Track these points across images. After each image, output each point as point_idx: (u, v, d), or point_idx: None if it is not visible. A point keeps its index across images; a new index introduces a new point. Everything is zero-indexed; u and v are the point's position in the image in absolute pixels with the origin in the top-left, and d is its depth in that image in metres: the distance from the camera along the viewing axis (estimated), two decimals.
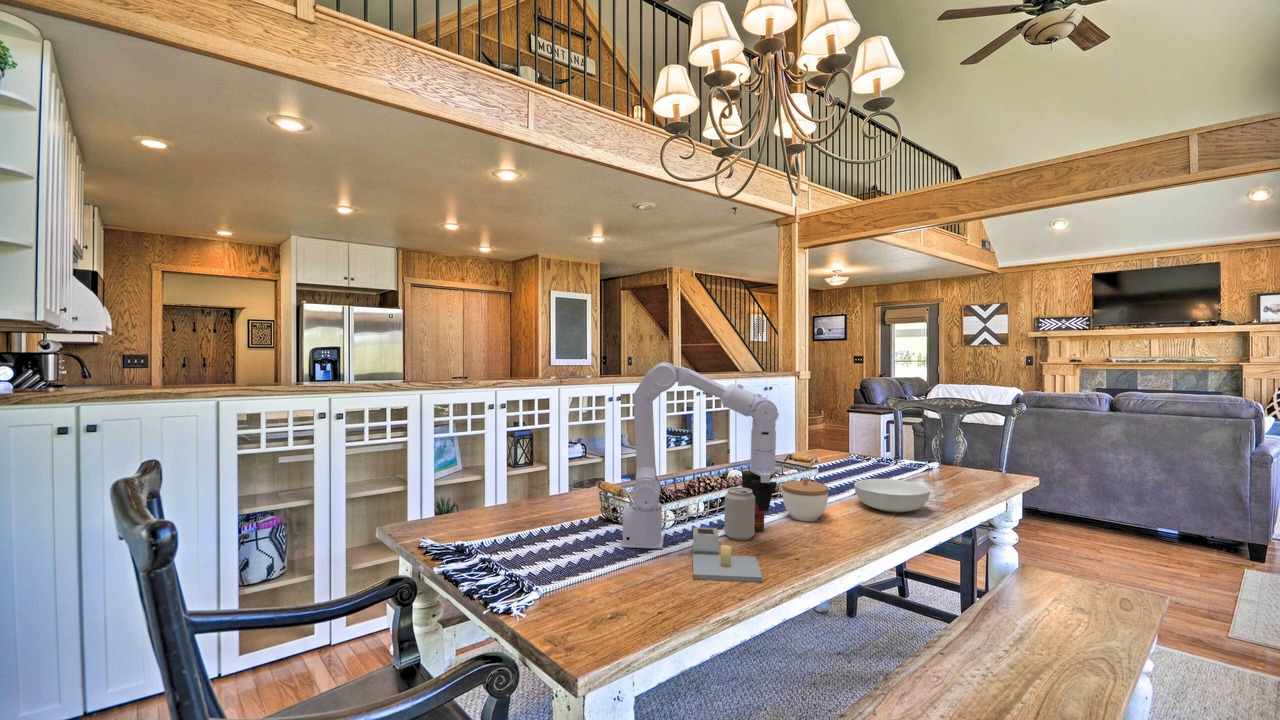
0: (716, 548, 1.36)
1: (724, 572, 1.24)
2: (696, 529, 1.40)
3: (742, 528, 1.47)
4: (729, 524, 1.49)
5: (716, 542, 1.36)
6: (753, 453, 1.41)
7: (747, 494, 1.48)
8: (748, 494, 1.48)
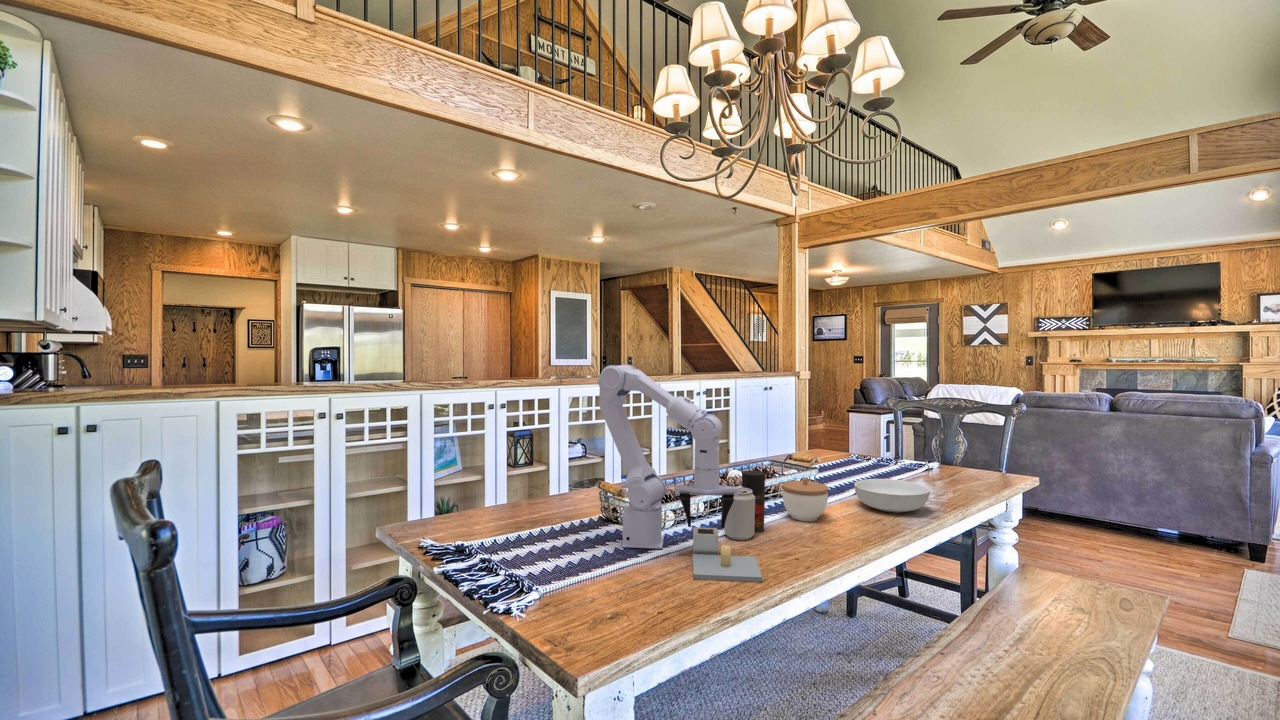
0: (716, 548, 1.36)
1: (724, 572, 1.24)
2: (696, 529, 1.40)
3: (742, 528, 1.47)
4: (729, 524, 1.49)
5: (716, 542, 1.36)
6: None
7: (747, 494, 1.48)
8: (748, 494, 1.48)
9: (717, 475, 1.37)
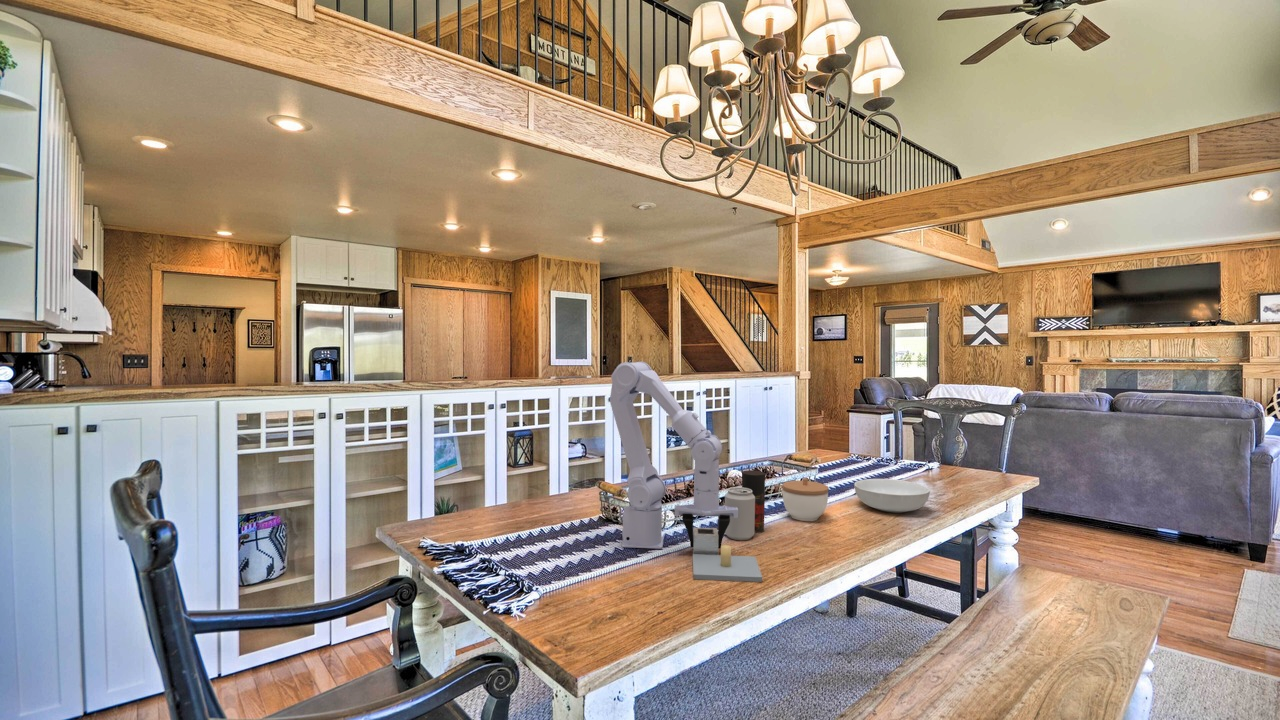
0: (716, 548, 1.36)
1: (724, 572, 1.24)
2: (696, 529, 1.40)
3: (742, 528, 1.47)
4: (729, 524, 1.49)
5: (716, 542, 1.36)
6: None
7: (747, 494, 1.48)
8: (748, 494, 1.48)
9: (717, 496, 1.37)
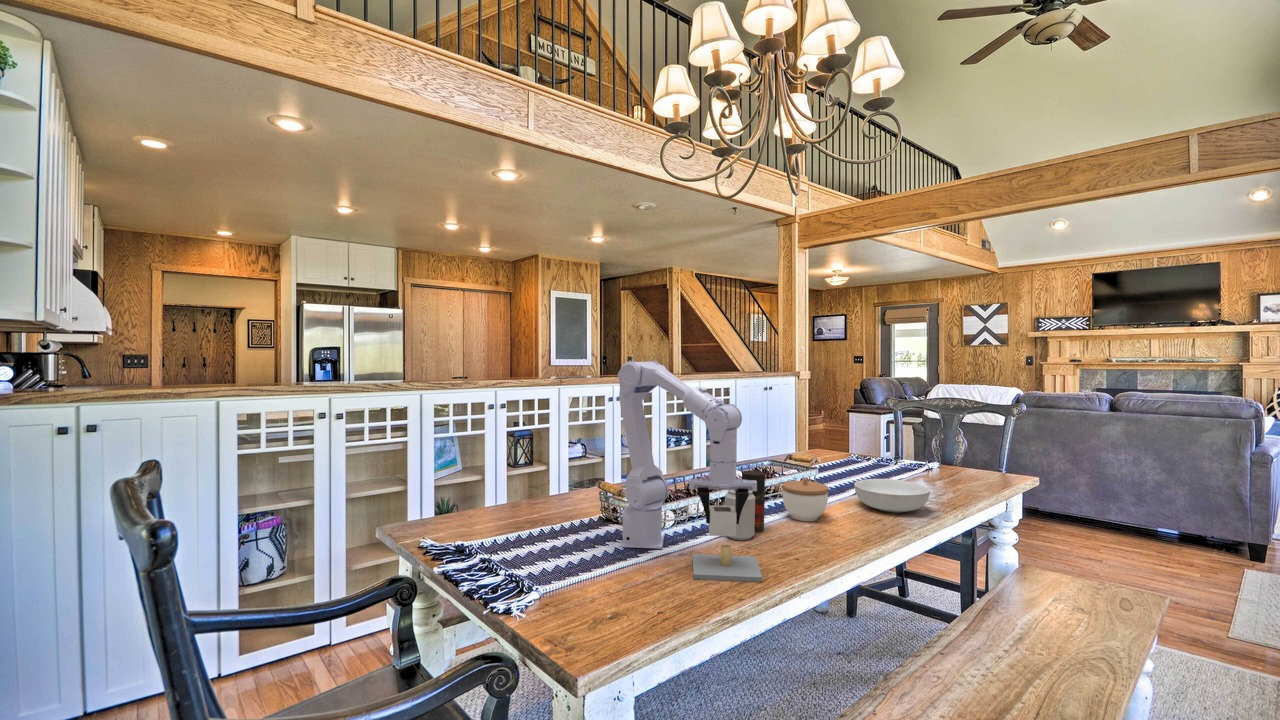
0: (734, 526, 1.28)
1: (724, 572, 1.24)
2: (712, 507, 1.32)
3: (742, 528, 1.47)
4: None
5: (734, 520, 1.28)
6: None
7: None
8: None
9: (734, 468, 1.28)
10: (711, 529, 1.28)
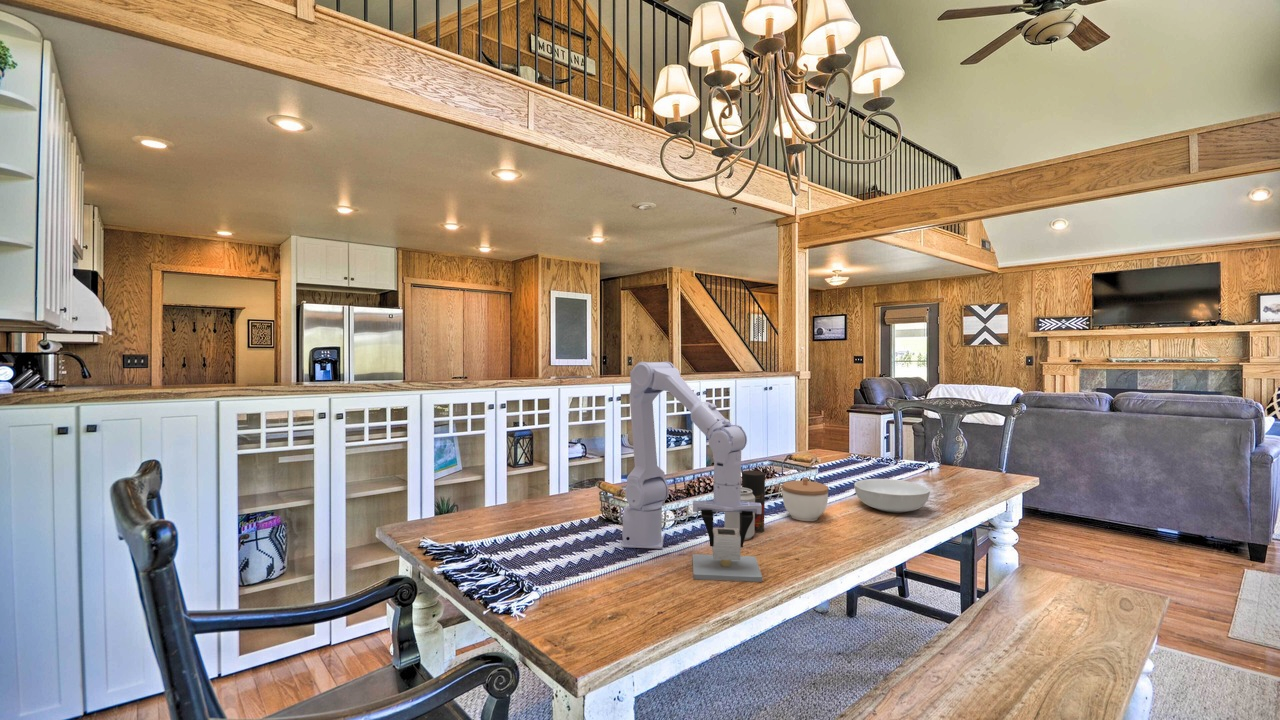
0: (738, 550, 1.26)
1: (724, 572, 1.24)
2: (716, 529, 1.30)
3: None
4: (729, 524, 1.49)
5: (738, 543, 1.25)
6: None
7: (747, 494, 1.48)
8: (748, 494, 1.48)
9: (739, 490, 1.26)
10: (715, 552, 1.26)
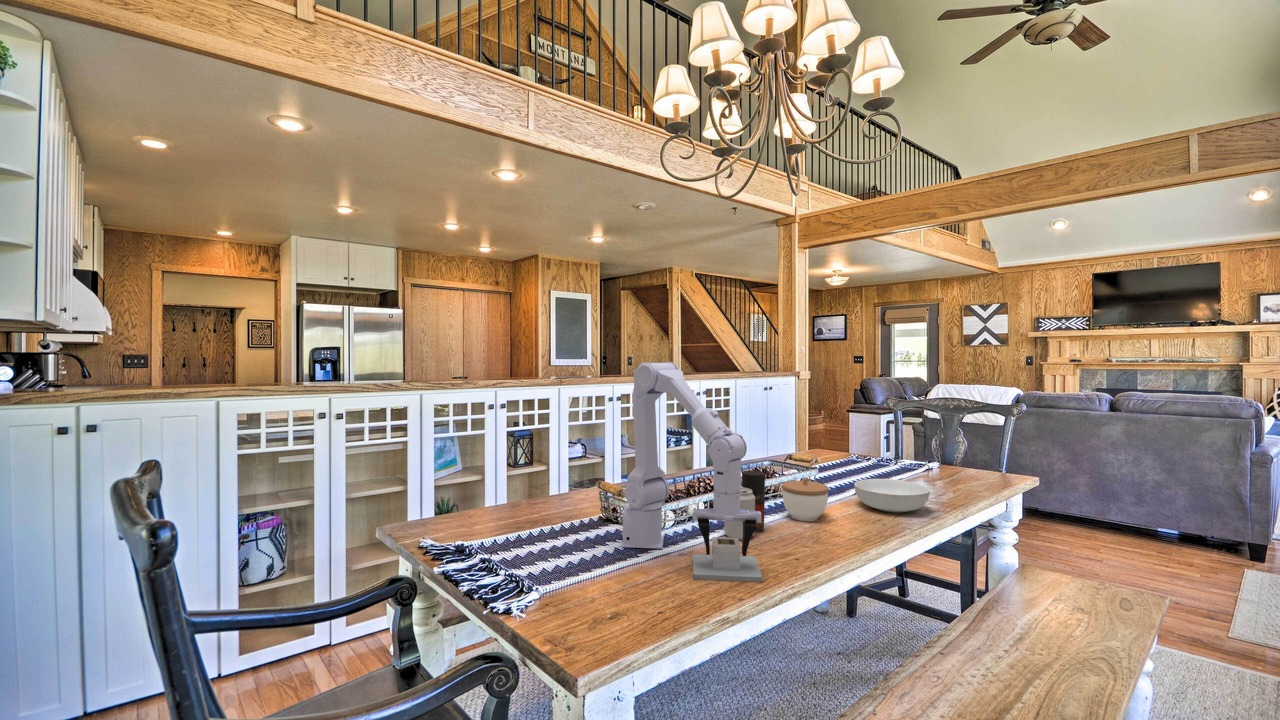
0: (738, 560, 1.26)
1: (724, 572, 1.24)
2: (715, 539, 1.30)
3: (742, 528, 1.47)
4: (729, 524, 1.49)
5: (738, 553, 1.26)
6: None
7: (747, 494, 1.48)
8: (748, 494, 1.48)
9: (738, 499, 1.26)
10: (714, 562, 1.26)
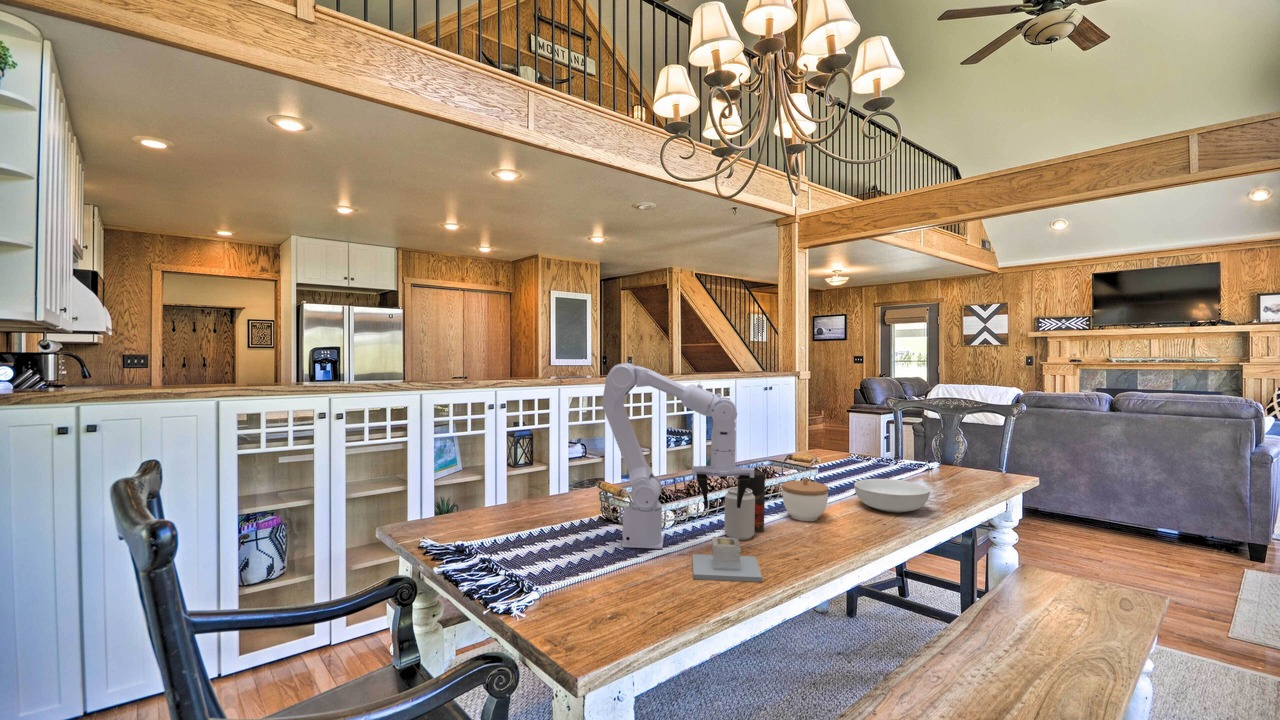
0: (738, 560, 1.26)
1: (724, 572, 1.24)
2: (715, 539, 1.30)
3: (742, 528, 1.47)
4: (729, 524, 1.49)
5: (738, 553, 1.26)
6: None
7: (747, 494, 1.48)
8: (748, 494, 1.48)
9: (733, 456, 1.40)
10: (714, 562, 1.26)
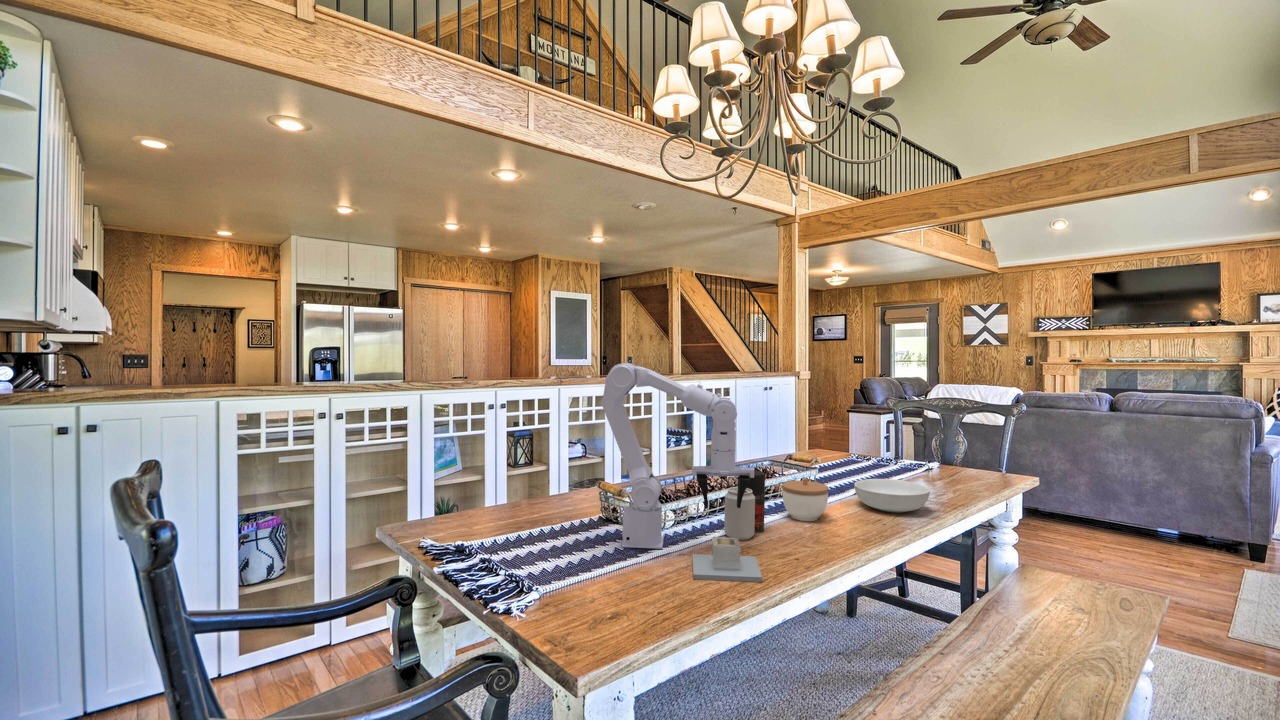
0: (738, 560, 1.26)
1: (724, 572, 1.24)
2: (715, 539, 1.30)
3: (742, 528, 1.47)
4: (729, 524, 1.49)
5: (738, 553, 1.26)
6: None
7: (747, 494, 1.48)
8: (748, 494, 1.48)
9: (733, 456, 1.40)
10: (714, 562, 1.26)
